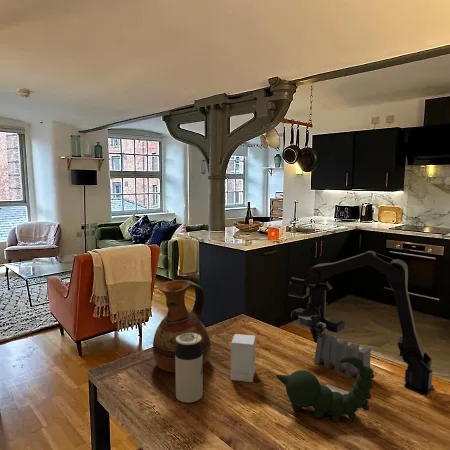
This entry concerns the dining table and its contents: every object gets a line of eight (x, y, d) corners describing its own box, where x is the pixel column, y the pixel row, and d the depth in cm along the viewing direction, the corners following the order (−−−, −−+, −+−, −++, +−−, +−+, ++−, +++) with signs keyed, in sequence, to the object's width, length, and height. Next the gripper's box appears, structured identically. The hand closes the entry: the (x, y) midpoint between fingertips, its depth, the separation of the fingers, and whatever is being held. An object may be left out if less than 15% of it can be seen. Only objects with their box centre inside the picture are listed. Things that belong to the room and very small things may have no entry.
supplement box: (253, 382, 114) (253, 344, 113) (230, 380, 116) (230, 342, 114) (255, 370, 121) (256, 335, 120) (234, 368, 123) (234, 333, 121)
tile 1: (326, 359, 129) (330, 334, 127) (318, 364, 126) (322, 338, 124) (321, 357, 130) (325, 332, 128) (314, 362, 127) (318, 336, 125)
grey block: (357, 372, 120) (359, 344, 119) (350, 378, 117) (351, 348, 116) (352, 370, 122) (354, 342, 121) (345, 375, 118) (346, 346, 117)
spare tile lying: (359, 401, 105) (359, 395, 105) (353, 409, 101) (353, 403, 101) (326, 389, 111) (327, 383, 111) (319, 396, 108) (320, 391, 107)
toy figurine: (364, 416, 100) (275, 393, 107) (374, 353, 98) (282, 333, 105) (366, 439, 91) (269, 412, 98) (377, 370, 89) (277, 347, 96)
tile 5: (369, 377, 117) (370, 348, 116) (362, 383, 114) (363, 353, 113) (364, 375, 119) (365, 346, 118) (356, 380, 115) (358, 351, 114)
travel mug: (172, 402, 104) (171, 342, 102) (180, 386, 112) (179, 331, 110) (199, 405, 102) (198, 344, 100) (205, 389, 110) (205, 333, 108)
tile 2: (336, 363, 126) (337, 336, 125) (328, 368, 123) (329, 340, 122) (331, 362, 127) (332, 335, 126) (323, 366, 124) (324, 339, 123)
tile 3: (346, 368, 123) (347, 340, 122) (339, 373, 120) (340, 344, 119) (341, 366, 125) (343, 338, 123) (334, 371, 121) (335, 342, 120)
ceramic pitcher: (142, 362, 127) (140, 279, 123) (188, 345, 140) (188, 270, 137) (174, 385, 112) (173, 292, 109) (222, 364, 126) (222, 280, 122)
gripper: (282, 299, 128) (281, 341, 130) (328, 312, 115) (327, 359, 116) (300, 292, 136) (299, 332, 138) (346, 304, 122) (344, 348, 124)
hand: (316, 342), depth 129 cm, fingers closed
